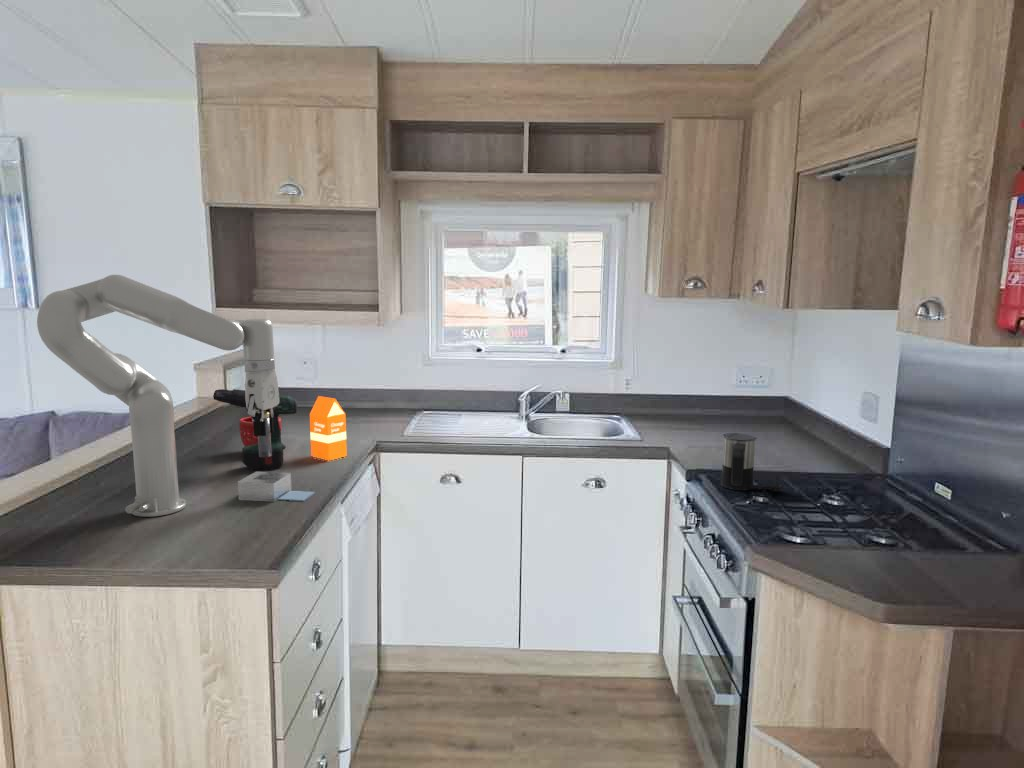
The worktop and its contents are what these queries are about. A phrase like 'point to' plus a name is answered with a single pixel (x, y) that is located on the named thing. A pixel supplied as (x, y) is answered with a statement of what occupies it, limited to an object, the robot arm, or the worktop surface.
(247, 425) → the plant pot
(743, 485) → the milk frother
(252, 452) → the power drill
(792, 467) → the worktop surface
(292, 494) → the rubber mat
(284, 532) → the worktop surface
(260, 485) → the block
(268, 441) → the metal cylinder with cap
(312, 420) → the orange juice
